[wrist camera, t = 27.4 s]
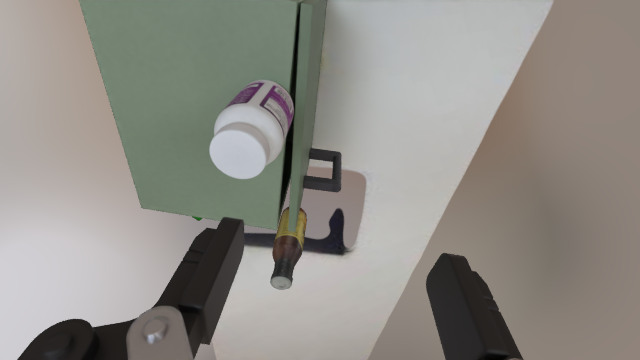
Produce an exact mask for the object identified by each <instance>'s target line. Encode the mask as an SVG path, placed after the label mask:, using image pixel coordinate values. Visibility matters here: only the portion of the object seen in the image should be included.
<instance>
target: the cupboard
mask: <svg viewBox="0 0 640 360" xmlns="http://www.w3.org/2000/svg"><path fill="white" fill-rule="evenodd" d="M305 1H308V0H79V2H80V6H81V9H82V12H83V15H84V18H85V22H86V25H87V29H88V32H89V35H90V39H91V42H92V45H93V49H94V52H95V55H96V59H97V61H98V65H99V68H100V72H101V75H102V78H103V82H104V85H105V88H106V92H107V95H108V98H109V102H110V105H111V108H112V112H113V115H114V118H115V121H116V124H117V128H118V131H119V134H120V138H121V141H122V144H123V148H124V151H125V155H126V158H127V161H128V165H129V167H130V171H131V174H132V177H133V181H134V184H135V188H136V191H137V194H138V198H139V201H140V204H141V208H144V209H150V210H156V211H162V212H169V213H175V214H181V215H187V216H193V217H199V218H206V219H212V220H218V221H221V220H222V218H223V217H230V218H237V219H243V220H244V225H249V226H255V227H261V228H267V229H274V230H277V227H278V223H279V220H280V216H281V212H282V208H283V205H284V201H285V198H286V194H287V190H288V187H289V183H290V179H291V169H292V151H293V134H294V116H295V98H296V80H297V63H298V45H299V27H300V9H301V3H303V2H305ZM257 80H269V81H273V82H275V83H277V84H279V85H280V86H281V87H283V88H284V89H285V90H286V91H287V92H288V94H289V95H290V97H291V99H292V102H293V107H294V114H293V118H292V122H291V124H290V127H289V130H288V133H287V136H286V138H285V141H284V144H283V147H282V150H281V152H280V153H279V155H278V156H277V158H276V159H275V160H274V161H272V162H271V163H269V164H268V165H266V166H265V168H264V169H263V171H262V172H261V173H260V174H259V175H257V176H255V177H253V178H250V179H237V178H233V177H230V176H228V175H226V174H225V173H223V172H222V171H220V170H219V169H218V168H217V167H216V165H215V164H214V163H213V161H212V159H211V156H210V152H209V148H210V143H211V141H212V139H213V137H214V127H215V122H216V120H217V118H218V116H219V114H220V113H221V112H222V111H223V110H224V109H225V108H226V107H227V105H228V104H229V103H230V102H231V101H232V100H233V99H234V98H235V97H236V96H237V95H238V93H240V91H241V90H242V89H244V88H245V87H246V86H247V85H248V84H249V83H251V82H253V81H257Z"/></svg>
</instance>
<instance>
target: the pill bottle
mask: <svg viewBox="0 0 640 360" xmlns="http://www.w3.org/2000/svg"><path fill="white" fill-rule="evenodd" d="M293 114H294V107H293V102H292V99H291V97H290V95H289V94H288V92H287V91H286V90H285V89H284V88H283V87H281V86H280V85H279V84H277V83H275V82H273V81H269V80H257V81H253V82H251V83H249V84H248V85H247V86H246V87H245V88H244V89H242V90H241V91H240V93H238V95H237V96H236V97H235V98H234V99H233V100H232V101H231V102H230V103H229V104H228V105H227V107H226V108H225V109H224V110H223V111H222V112H221V113H220V114H219V116H218V118H217V120H216V122H215V127H214V137H213V139H212V141H211V143H210V148H209V152H210V156H211V159H212V161H213V163H214V164H215V165H216V167H217V168H218V169H219V170H220V171H222V172H223V173H225V174H226V175H228V176H230V177H233V178H237V179H250V178H253V177H255V176H257V175H259V174H260V173H261V172H262V171H263V169H264V168H265V166H266V165H268V164H269V163H271V162H272V161H274V160H275V159H276V158H277V156H278V155H279V153H280V152H281V150H282V147H283V144H284V141H285V138H286V136H287V133H288V130H289V127H290V124H291V122H292V118H293Z"/></svg>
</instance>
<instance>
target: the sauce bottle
mask: <svg viewBox="0 0 640 360" xmlns="http://www.w3.org/2000/svg"><path fill="white" fill-rule="evenodd" d="M306 221H307V219H306V213H305V212H304V211H303V209H302V208H300V211H299V216H298V221H297V226H296V231H295V232H291V231H288V222H289V207H287V208H286V209H285V210H284V211H283V213H282V216H281V219H280V223H279V226H278V230H277V234H276V238H275V242H274V248H273V253H272V254H273V259H274V262H275V268H274V272H273V274H272V277H271V281H270V283H271V285H272V286H273V287H274V288H276V289H280V290H284V289H288V288H290V287H291V285H292V280H293V278H292V275H293V270H294V266H295V265H296V263H297V261H298V260H299V258H300V257H301V255H302V250H303V243H304V236H305V229H306Z"/></svg>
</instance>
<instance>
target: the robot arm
mask: <svg viewBox="0 0 640 360" xmlns="http://www.w3.org/2000/svg"><path fill="white" fill-rule="evenodd" d="M243 250H244V220H243V219H237V218H230V217H223V218H222V220H221V222H220V223H219V225H218V227H217V229H211V228H206V229H205V230H204V231H203V232H201V233H200V234H199V235H198V236H197V237H196V238H195V239H194V241H193V243H192V244H191V246H190V248H189V251H187V253H186V254H185V256H184V258H183V261H181V263H180V265H179V266H178V268H177V270H176V271H175V273H174V275H173V277H172V278H171V280H170V282H169V283H168V285H167V287H166V288H165V290H164V292H163V294H162V295H161V297H160V299H159V300H158V302H157V303H156V304H155V305H154V306H153V307H152V308H151V309H149V310H148V311H146V312H144V313H143V314H141V315H140V316H139V317H138V318H136V319H133V320H130V321H126V322H121V323H116V324H110V325H104V326H99V327H92V326H91V325H90V323H88V322H87V321H85V320H82V319H70V320H66V321H62V322H59V323H57V324H55V325H53V326H51V327H49V328H48V329H46V330H45V331H43V332H42V333H41V334H39V335H38V336H37V337H36V338H35V339H34V340H33V341H32V342H31V343H30V344H29V346H28V347H27V348H26V350H25V351H24V352H23V353H22V354H21V356H20V357H19V358H18V359H17V360H194V358H195V356H196V353H197V351H198V348H199V346H200V343H202V344H208V345H209V344H210V342H211V339H212V337H213V334H214V331H215V329H216V326H217V323H218V321H219V318H220V315H221V313H222V310H223V307H224V305H225V302H226V299H227V297H228V294H229V291H230V288H231V286H232V283H233V280H234V278H235V275H236V272H237V270H238V267H239V264H240V262H241V259H242V255H243ZM426 288H427V293H428V297H429V300H430V303H431V308H432V311H433V315H434V319H435V322H436V326H437V330H438V333H439V336H440V340H441V344H442V348H443V351H444V355H445V359H446V360H523V358H522V356H521V354H520V352H519V350H518V348H517V346H516V344H515V342H514V340H513V338H512V335H511V334H510V331H509V329H508V327H507V325H506V323H505V321H504V319H503V317H502V315H501V313H500V312H499V311H498V310H499V308H498V306H497V304H496V302H495V301H494V300H493V296H492V294H491V292H490V290H489V288H488V286H487V284H486V283H485V282H484V280H483V279H482V278H481V277H480V276H479V275H478V273H477V272H474V271H472V270H471V268H470V266H469V264H468V261H467V259H466V258H465V257H464V256H459V255H454V254H447V253H443V254H441V256H440V257H439V259H438V260H437V262H436V263H435V265H434V267H433V268H432V270H431V271H430V273H429V274H428V277H427V281H426Z"/></svg>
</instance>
